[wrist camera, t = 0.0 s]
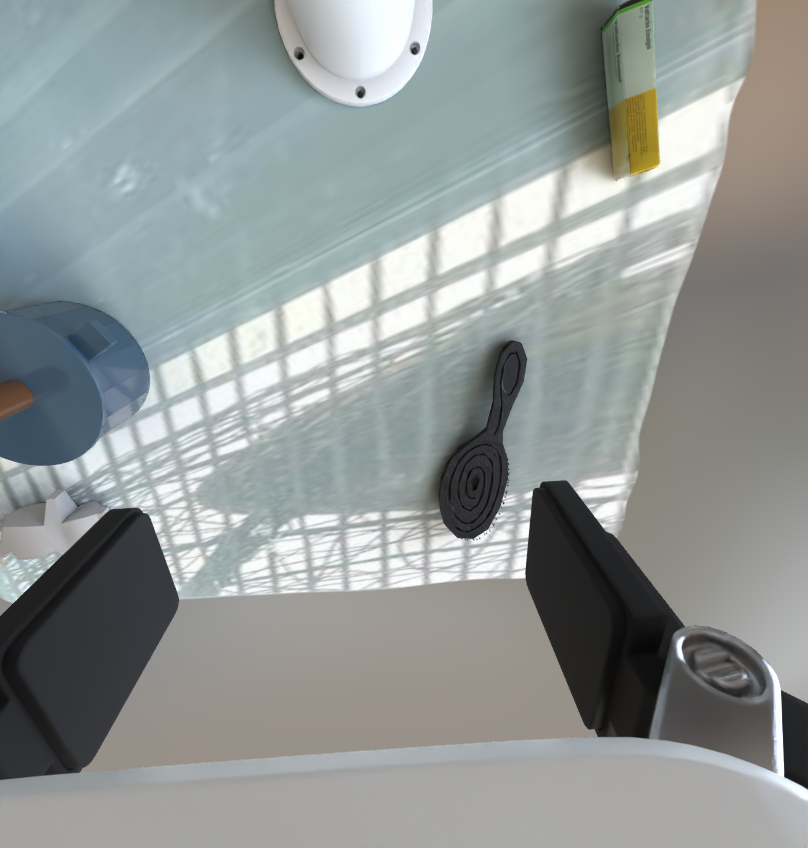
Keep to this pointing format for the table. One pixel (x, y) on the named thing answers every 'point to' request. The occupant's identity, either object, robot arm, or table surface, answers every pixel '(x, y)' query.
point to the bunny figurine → (47, 526)
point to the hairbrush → (483, 456)
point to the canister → (100, 353)
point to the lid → (45, 395)
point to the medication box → (631, 88)
